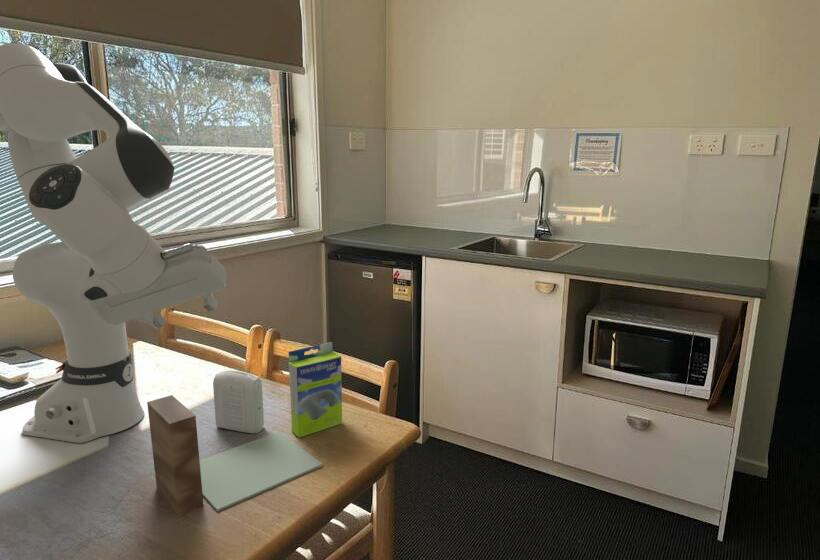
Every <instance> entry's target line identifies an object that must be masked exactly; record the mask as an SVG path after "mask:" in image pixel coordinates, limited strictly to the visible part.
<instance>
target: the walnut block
mask: <svg viewBox="0 0 820 560" xmlns="http://www.w3.org/2000/svg"><path fill="white" fill-rule="evenodd" d="M146 403H147V404H146V405H147V412H148V422H149V423H148V424H149V431H150V438H151V439H150V440H151V450H152V457H153V466H154V475H155V476H154V477H155V485H156V489H157V491H158V492H159V494H161V496H162V497H163V499H165V501H166V502H167V503H168V504H169V506H170V507H171V508H172V509H173V511H174V512H175V513H176V515H177V516H178V517H180V516H183V515H186V514H188V513H190V512H192V511H195V510H198V509H199V508H202V507H204V496H203V493H202V482H201V471H200V460H201V459H200V451H199V450H200V449H199V441H198V440H199V439H198V429H197V428H198V427H197V417H196V415H195V414H194V413H193V412H192V411H191V410H190V409H188V407H186V406H185V405H184V404H183V403H181V402H180V401H179V400H178V399H177V398H176V397H175V396H174V395H173V394H171V395H168V396H164V397H160V398H157V399H154V400H148V401H147V402H146Z"/></svg>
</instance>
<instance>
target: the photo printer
mask: <svg viewBox="0 0 820 560" xmlns="http://www.w3.org/2000/svg"><path fill="white" fill-rule="evenodd" d="M212 386H213V387H212V388H213V400H214V401H213V403H214V415H215V416H214V417H215V418H214V419H215V426H216V427H217V428H222V429H226V430H230V431H236V432H240V433H248V434H258V433H260V432H262V430H263V428H264V422H265V421H264V417H265V416H264V398H263V383H262V380H261V379H260V378H259V377H258V376H256V375H254V374H252V373H249V372H245V371H240V370H224V371H220V372H218V373H216V374H215V375H214V377H213V382H212Z"/></svg>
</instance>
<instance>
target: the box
mask: <svg viewBox="0 0 820 560" xmlns="http://www.w3.org/2000/svg"><path fill="white" fill-rule="evenodd" d="M333 348H334V347H333V341H330V342H326V343H320V344H317V345H312V346H308V347H304V348H299V349H295V350H290V351H288V363H287V365H288V371H289V390H290V393H289V394H290V410H291V412H290V413H291V432H292V433H294V435H295V436H297V437H298V438H302V437H305V436H308V435H310V434H313V433H317V432H321V431H323V430H327V429H329V428H332V427H336V426H339V425H342V424H343V404H342V403H343V401H342V400H343V392H342V391H343V389H342V388H343V386H342V383H343V382H342V356H341V355H340V354H338V353H336V352H335V351H334V350H333ZM311 350H317V351H316V352H313V353H308V354H305V353H307V352H310V351H311Z"/></svg>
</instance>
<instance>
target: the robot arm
mask: <svg viewBox="0 0 820 560" xmlns="http://www.w3.org/2000/svg"><path fill="white" fill-rule="evenodd" d="M92 131H93V132H94V131H103V132H104V133H105V134H106V135H107V136H108V138H106V140H105V141H103V142H102V143H100V144H98V145H97V146H95V147H94V148H91V149H90V150H88V151H86V152H85V153H83V154H81V155H80V156H78V157H77V156H76V154H75V152H74V150H73V149H72V146H71V145H70V143H69V141H68V139H71V138H73V137H76V136H79V135H81V134H85V133H87V132H88V133H89V132H92ZM0 132H8V133H7V145H8V150H9V157H10V160H11V165H12V167H13V170H14V173H15V176H16V179H17V181H18V184H19V186H20V189H21V191H22V193H23V196H24V199H25V201H26V204H27V206H28V209H29V211H30V213H31V216H32V217H33V218H34V219H35V220H36V221H37V222H38V223H40V224H42V225H43V226H46V227H47V228H48V229H49V230H50V231H51V232H52V233H53V234H54V236H56V238H57V239H58V240H60V241H59V242H52V243H45V244H43V245H39V246H37V247H34V248H30V249H29V250H25V251H23V252H21V253H19V255H18V256H17V257H16V260H15V261H14V264H13V267H12V278H13V279H12V280H13V282H14V286H15V287H16V288H17V290H18V292H19V293H20V294H21V295H22V296H24V297H25V298H26V299H28V300H30V301H31V302H34V303H36V304H39V305H40V306H42V307H43V308H45V309H46V310H48V311H49V312H50V313H51V314H52V315H53V317H54V318H55V320H56V321H57V323H58V325H59V327H60V330H61V333H62V337H63V342H64V346H65V352H66V358H67V360H65V361H64V362H62V364H61V365H59V366H57V367H55V370H56V371H55V374H59V373H61V372H62V375H61V378H60V379H59V380H58V381H57V382H55V383H54V384H53V385H52V386H51V387H49V388H48V389H47V390H46V391H45V392H44V393H42V394H41V395H40V396H39V397H38V398H37V400H36V402H35V406H34V412H33V413H34V416H32V417H31V418H30V419H29V420H28V421H26V422H25V424H23V427H22V434H23V435H25V436H31V437H36V438H44V439H50V440H56V441H63V442H70V443H75V444H83V443H87V442H90V441H93V440H95V439H97V438H101V437H103V436H104V437H105V436H109V435H113V434H115V433H116V434H117V433H119V432H122V431H125V430H127V429H130V428H131V427H133V426H134V425H136V424H138V423H139V422H140V421H141V420H142V419H143V418H144V416H145V411H144V409H143V408H142V405H141V402H140V399H139V398H138V395H137V391H136V390H137V389H136V388H135V382H134V368H133V367H134V366H133V358H132V353H131V352H130V351H129V345H128V344H129V343H128V336H127V328H126V322H128V321H132V320H135V321H136V322H137V323H138V322H139V323H143V324H146V325H150V326H151V327H152V328H154V329H155V330H158V329H160V328H164V327H165V326H166V324H165V323H166V318H165V317H164V316H162V314H161V313H156V314H154V313H155V312H159V311H162V310H164V309H168V308H170V307H174V306H177V305H180V304H182V303H185V302H188V301H192V300H195V299H197V298H202V299H203V308H204V309H205V310H206V311H207V312H208V313H209V312H212V311H215V310H218V306H219V305H218V300H217V299H216V298H215V296H214V293H215V292H219V291H222V290H224V289H225V286H226V284H227V283H226V282H227V270H226V268H225V266H223V264H222V263H221V262H220V261H219V260H218V259H216V258H215V257H214V255H212V254H211V253H210V252H209V250H208V249H207V248H206V247H205V246H203V245H198V244H191V243H186V244H183V245H181V246H179V247H176V248H171V249H168V250H165V249H164V248H163V247H162V246H161V245H160V244H159V242H158V241H156V239H155V238H154V237H153V236H152V235H151V234H150V233H149V232H148V231H147V230H146V229H145V228H144V227H143V226H141V225H140V224H138V223H136V222H135V221H134V219H133V218H132V217H131V214H130V212H129V211H130V210H132V209H133V208H135V207H137V206H138V205H140V204H142V203H143V202H145V201H146V200H149V199H152V198H154V197H156V196H158V195H160V194H161V193H164V192H166V191H167V190H169V189H170V187H171V184H172V182H173V177H174V173H175V167H174V164H173V160H172V159H171V156H170V155H169V153H168V151H167V150H166V148H165V147H164V146H163V145H162V144H161V143H160V142H159V141H158V140H157V139H156V138H155V137H154V136H152V135H150V134H149V133H148V132H146V131H144V130H143V129H142V128H140V127H139V126H138V125H137V124H135V122H133V121H132V120H131V119H130V118H129V117H128V116H127V115H126V114H124V112H123V111H121V110H120V109H119V108H118V107H117V106H116V105H115V104H113V103H112V102H111V100H109V99H108V98H107V97H106V96H105V95H103V94H102V93H101V92H100V91H99V90H98V89H96V88H95V87H94V86H92V85H91V84H89V83H88V82H87V80H86V79H85V77H84V76H83V74H82V73H81V71H80V70H79V69H78V68H77V67H76V66H74V65H73V64H68V63H59V62H53V63H52V62H51V60H49V59H48V58H47V56H45V55H43V53H42V52H40V51H39V50H38V49H36V48H34V47H32V46H30V45H29V44H24V43H20V42H19V43H18V42H8V43H3V44H1V45H0Z"/></svg>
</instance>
